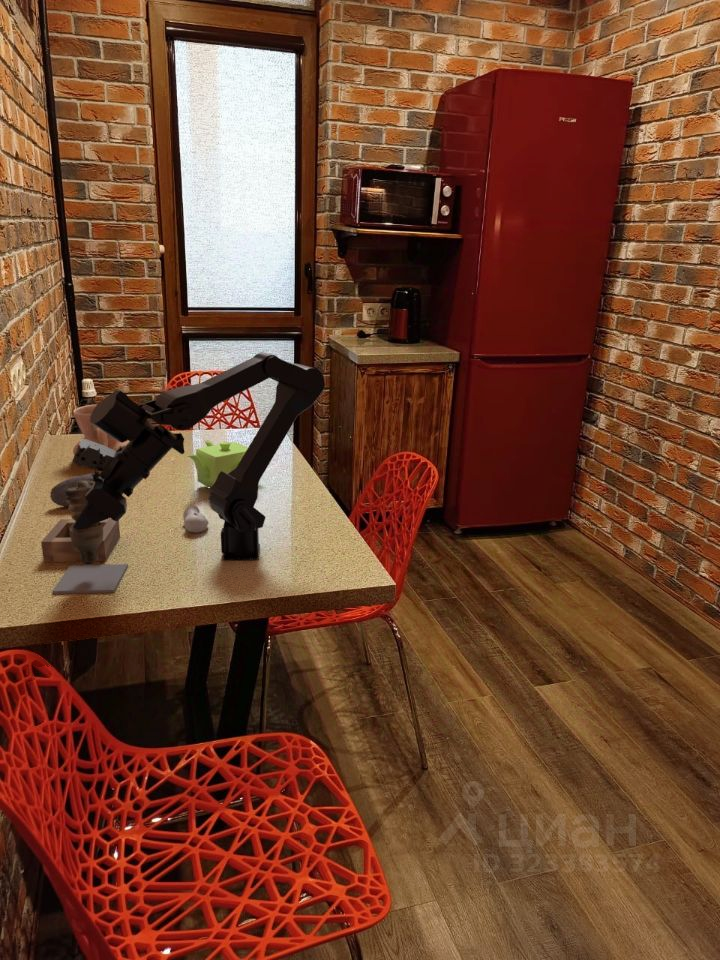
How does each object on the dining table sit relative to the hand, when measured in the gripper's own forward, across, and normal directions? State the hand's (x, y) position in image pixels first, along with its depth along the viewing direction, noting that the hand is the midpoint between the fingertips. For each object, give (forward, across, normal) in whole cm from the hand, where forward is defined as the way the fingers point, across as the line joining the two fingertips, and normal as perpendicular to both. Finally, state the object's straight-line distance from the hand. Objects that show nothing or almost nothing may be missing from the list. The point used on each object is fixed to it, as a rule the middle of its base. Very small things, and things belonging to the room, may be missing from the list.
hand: (78, 522), depth 116 cm
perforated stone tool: (+11, -39, +5) cm, 41 cm away
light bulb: (+5, 0, +7) cm, 8 cm away
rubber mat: (+7, 0, +8) cm, 11 cm away
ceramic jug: (+11, -72, +5) cm, 73 cm away
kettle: (-10, -46, +26) cm, 54 cm away
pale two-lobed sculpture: (-5, -21, +22) cm, 30 cm away
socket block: (+9, -14, +6) cm, 17 cm away
